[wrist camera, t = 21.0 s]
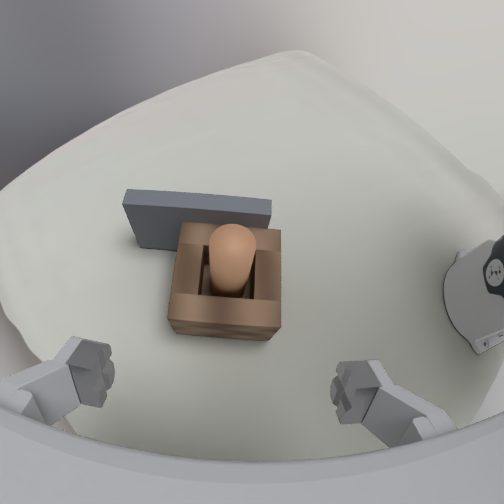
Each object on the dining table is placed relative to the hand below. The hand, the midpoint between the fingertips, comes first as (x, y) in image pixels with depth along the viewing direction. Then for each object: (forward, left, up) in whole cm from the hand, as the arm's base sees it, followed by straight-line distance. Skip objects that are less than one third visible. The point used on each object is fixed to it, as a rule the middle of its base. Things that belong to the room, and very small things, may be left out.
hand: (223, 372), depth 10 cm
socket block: (0, -12, -25) cm, 28 cm away
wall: (+4, -18, -25) cm, 31 cm away
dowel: (0, -12, -23) cm, 26 cm away
